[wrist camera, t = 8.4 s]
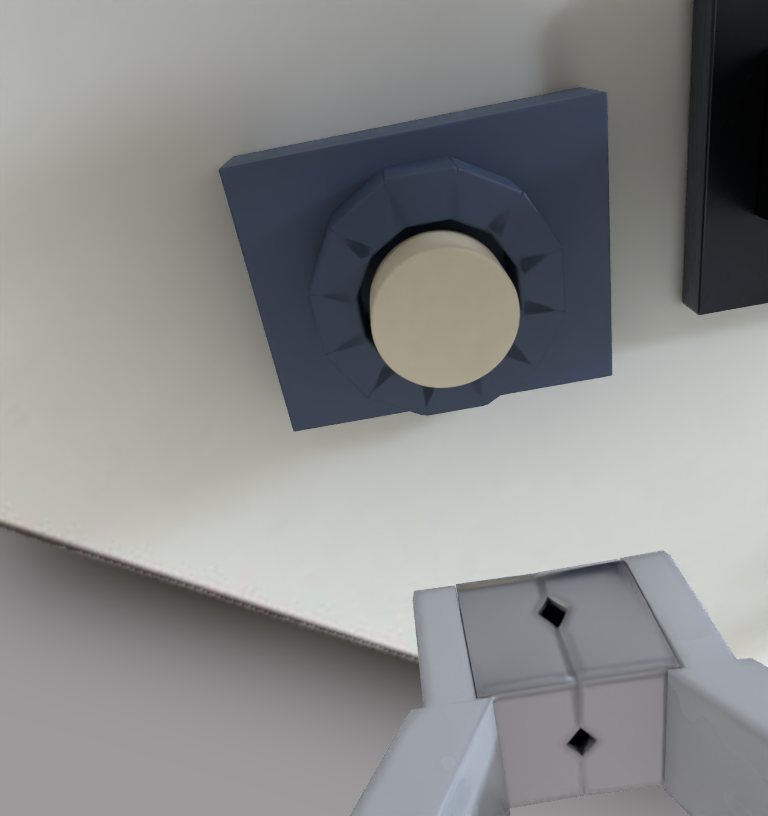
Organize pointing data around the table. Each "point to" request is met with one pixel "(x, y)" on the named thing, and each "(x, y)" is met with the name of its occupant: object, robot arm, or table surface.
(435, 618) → the robot arm
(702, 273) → the bracket
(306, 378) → the button box
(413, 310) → the button
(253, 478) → the table surface
